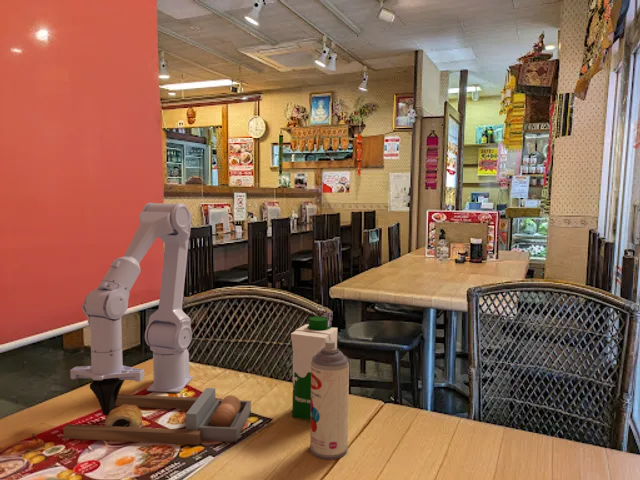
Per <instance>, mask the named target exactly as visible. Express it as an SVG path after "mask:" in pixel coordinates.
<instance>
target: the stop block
mask: <svg viewBox="0 0 640 480" xmlns="http://www.w3.org/2000/svg"><path fill="white" fill-rule="evenodd" d="M197 398H198V399H197V400H196V401H195V403H194V404H193V405H192V407H191V408H190V409H187V412H186V413H185V430H198V427H199V426H200V424H201V423H202V421H203V420H204V418H205V417H206V415H207V414H208V413H209V411H210V410H211V408H212V407H213V405H214V404H215V402H216V401H215V398H216V388H215V387H206V388H204V390H203V391H202V392H201V394H200V395H199V396H198V397H197Z"/></svg>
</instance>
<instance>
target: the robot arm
mask: <svg viewBox="0 0 640 480" xmlns="http://www.w3.org/2000/svg"><path fill="white" fill-rule="evenodd" d="M192 218H193V214H192V213H191V211H190V209H189V208H188V207H187V205H186V204H185V203H184V202H178V203H162V202H159V203H158V202H157V203H155V202H148V203H146V204H145V205H144V206H143V208H142V210H141V212H140V213H139V215H138V221H139V225H138V228H137V230H136V231H135V233H134V235H133V237H132V239H131V241H130V243H129V246H128V247H127V249H126V251H125V253H124V255H123V256H121V257H116V258H115V259H114V260H113V261H112V262H111V264H110V267H109V268H108V271H107V272H106V273H105V275H104V277H103V278H102V279H101V281H100V283H99V285H98V286H97V287H96V288H94V289H93V290H91V291H90V292H89V293H87V294H86V296H85V298H84V301H83V304H82V305H81V307H82V308H81V309H82V312H83V314H84V315H85V316H86V318H87V324H88V326H89V333H90V334H89V336H90V357H91V358H90V359H91V365H85V366H84V365H83V366H74V367H73V368H72V369H70V371H69V372H70V379H71V380H77V379H91V380H92V382H91V383H90V384H89V388H90V389H89V390H91V391H92V393H93V394H94V395H95V397H96V399H97V401H98V403H99V405H100V408H101V411H102V416H106V417H107V416H108V414H109V412H110V411H112V410H113V409H115V408H116V406H115V403H116V399H117V396H118V394H119V392H120V390H121V389H122V385H123V384H124V382H125V381H135V382H137V383H141V382H142V381H143V380H145V368H144V369H143V368H137V367H131V366H126V365H123V333H122V332H123V331H122V330H123V329H122V317H123V316H124V315H125V313H126V312H127V311H128V308H129V298H130V294H131V293H130V291H131V289H132V288H133V287H134V284H135V282H136V281H137V279H138V277H139V275H140V274H141V272H142V270H141V266H140V263H141V261H142V260H143V259H144V257H145V256H146V254H147V253H148V252H149V250H150V248H151V247H152V246H153V244H154V242H156V240H157V238H160V240H162V243H164V244H165V245H164V252H163V262H162V269H161V270H162V271H161V272H162V274H161V281H160V290H159V301H158V309H156V310H155V311H154V312H153V313H152V314H151V315H150V316H149V319H148V324H147V326H146V329H145V332H144V341H145V343H146V344H147V346H148V347H149V349H150V351H152V364H153V365H152V368H153V369H152V370H153V371H152V372H153V373H152V374H153V383H152V384H150V386H149V387H147V388H146V391H147V392H158V393H159V392H161V393H162V392H163V393H180V392H182V390H183V389H184V388H185V387H186V386H187V385H188V383H190V381H192V379H193V378H194V375H190V353H189V350H188V347H189V345H191V342H192V338H193V331H192V328H191V325H192V324H191V322H192V319H191V317H190V316H189V315H188V314H186V313H185V312H184V311H183V300H184V291H185V283H186V281H185V279H186V271H187V270H186V269H187V261H188V252H189V251H188V250H189V241H190V238H191V237H190V236H191V228H192Z"/></svg>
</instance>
